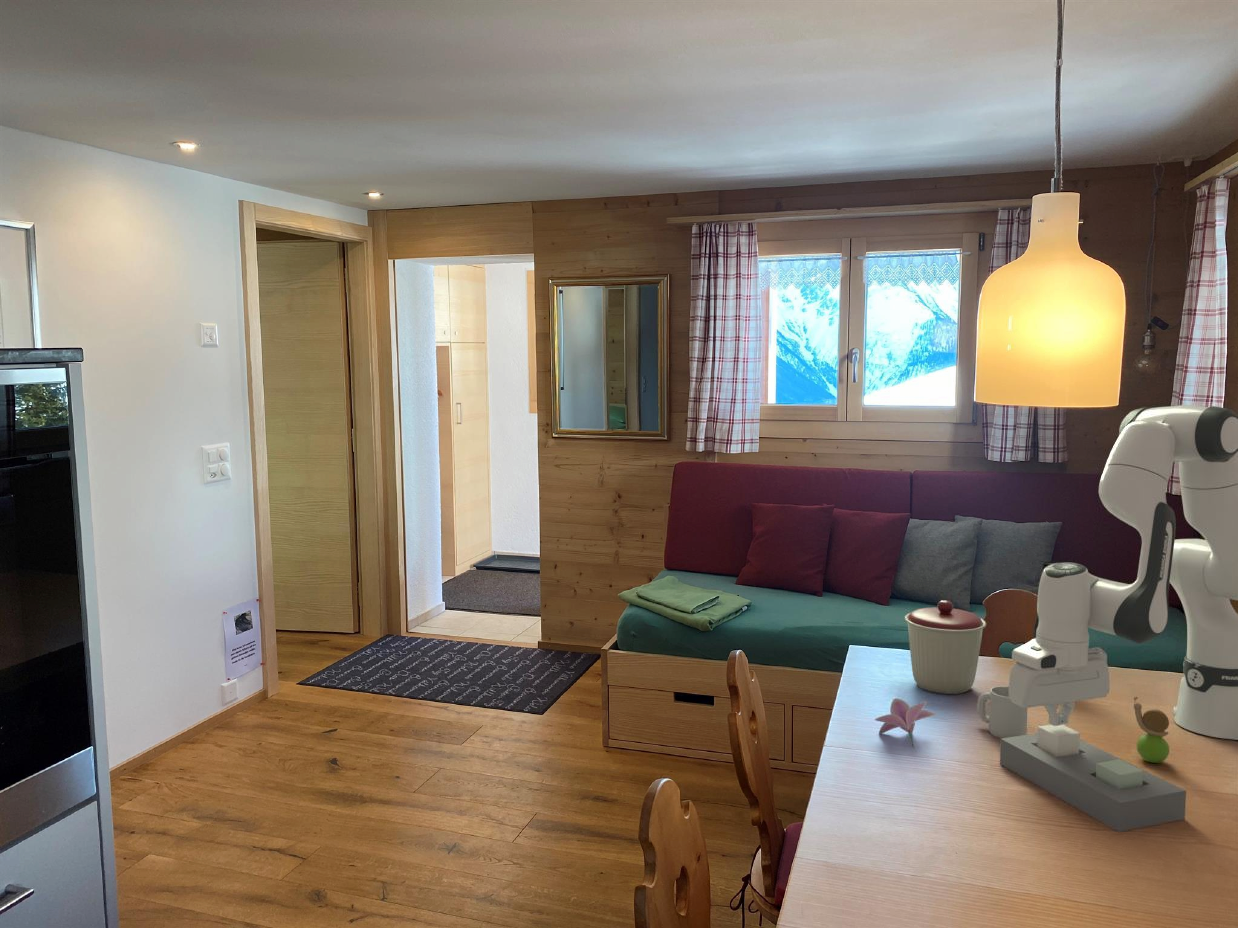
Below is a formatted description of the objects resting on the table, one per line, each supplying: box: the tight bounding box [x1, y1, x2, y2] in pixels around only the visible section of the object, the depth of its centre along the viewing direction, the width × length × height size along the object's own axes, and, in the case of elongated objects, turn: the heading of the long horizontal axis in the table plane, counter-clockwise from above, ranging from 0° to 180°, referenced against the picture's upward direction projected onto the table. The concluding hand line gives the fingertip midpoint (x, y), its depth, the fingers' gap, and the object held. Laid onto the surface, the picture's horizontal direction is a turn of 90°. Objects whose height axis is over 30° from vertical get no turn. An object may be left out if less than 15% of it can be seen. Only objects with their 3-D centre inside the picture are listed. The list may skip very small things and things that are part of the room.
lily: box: [874, 697, 936, 749], centre depth 189 cm, size 12×12×10 cm
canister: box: [904, 599, 987, 695], centre depth 220 cm, size 18×18×21 cm
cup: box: [976, 685, 1028, 739], centre depth 193 cm, size 7×10×9 cm
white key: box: [1037, 724, 1081, 757], centre depth 173 cm, size 5×5×5 cm
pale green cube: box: [1096, 758, 1143, 790], centre depth 160 cm, size 5×5×5 cm
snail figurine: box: [1133, 696, 1170, 764], centre depth 178 cm, size 5×6×12 cm
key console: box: [999, 732, 1187, 833], centre depth 167 cm, size 14×28×5 cm, turn 18°
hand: (1058, 724), depth 173 cm, fingers closed
